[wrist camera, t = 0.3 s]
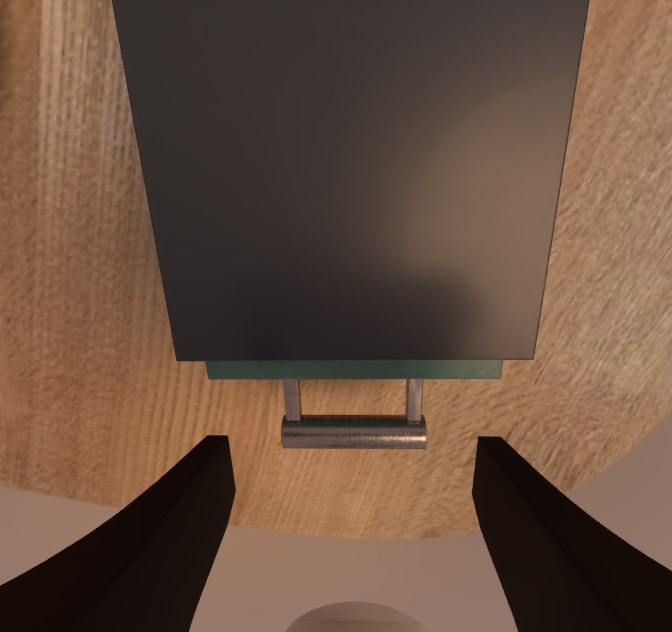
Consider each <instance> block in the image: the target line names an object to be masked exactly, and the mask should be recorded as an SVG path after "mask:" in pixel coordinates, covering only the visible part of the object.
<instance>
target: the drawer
mask: <svg viewBox="0 0 672 632" xmlns="http://www.w3.org/2000/svg"><path fill="white" fill-rule="evenodd" d="M502 365H503V360H342V361H206V367H207V374H208V379H283V384H284V396H285V409H286V415H284V416H283V419H282V426H281V442H282V447H283V448H313V449H425V448H426V444H427V428H426V421H425V417H424V415H421V413H422V395H423V379H499V378H501V373H502ZM300 379H407V381H406V408H405V414H406V415H302V407H301V391H300Z"/></svg>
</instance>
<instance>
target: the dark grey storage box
mask: <svg viewBox="0 0 672 632" xmlns="http://www.w3.org/2000/svg"><path fill="white" fill-rule="evenodd" d="M112 4H113V10H114V15H115V21H116V26H117V32H118V38H119V43H120V49H121V54H122V60H123V65H124V71H125V76H126V82H127V88H128V93H129V99H130V104H131V110H132V115H133V121H134V127H135V132H136V138H137V143H138V149H139V154H140V160H141V166H142V171H143V177H144V182H145V188H146V193H147V199H148V204H149V210H150V216H151V221H152V227H153V232H154V238H155V243H156V249H157V255H158V260H159V266H160V271H161V277H162V282H163V288H164V293H165V299H166V305H167V310H168V316H169V321H170V327H171V332H172V338H173V344H174V349H175V355H176V360H177V361H342V360H532V359H534V353H535V347H536V340H537V334H538V328H539V321H540V315H541V308H542V302H543V296H544V289H545V283H546V276H547V270H548V263H549V257H550V251H551V244H552V238H553V231H554V225H555V219H556V212H557V206H558V199H559V193H560V186H561V180H562V174H563V167H564V161H565V154H566V148H567V142H568V135H569V129H570V122H571V116H572V109H573V103H574V97H575V90H576V84H577V77H578V71H579V65H580V58H581V52H582V45H583V39H584V32H585V26H586V20H587V13H588V7H589V0H112Z"/></svg>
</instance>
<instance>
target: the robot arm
mask: <svg viewBox="0 0 672 632" xmlns="http://www.w3.org/2000/svg"><path fill="white" fill-rule="evenodd" d="M235 492H236V489H235V482H234V475H233V468H232V461H231V453H230V446H229V439H228V436H226V435H207V436H206V437H205V438H204V439H203V440H202V441H201V442H200V443H198V444H197V445H196V446H195V447H194V448H193V449H192V450H191V451H190V452H189V453H188V454H187V455H186V456H184V457H183V458H182V459H181V460H180V461H179V462H178V463H177V464H176V465H175V466H173V467H172V468H171V469H170V470H169V471H168V472H167V473H166V474H165V475H163V476H162V477H161V478H160V479H159V480H158V481H157V482H156V483H154V484H153V485H152V486H151V487H149V488H148V489H147V490H146V491H145V492H143V493H142V494H141V495H140V496H138V497H137V498H136V499H135V500H134V501H132V502H131V503H130V504H129V505H128V506H126V507H125V508H124V509H122V510H121V511H120V512H119V513H117V514H116V515H114V516H113V517H112V518H110V519H109V520H108V521H106V522H105V523H103V524H102V525H100V526H99V527H98V528H96V529H95V530H93V531H92V532H90V533H89V534H87V535H86V536H84V537H83V538H81V539H80V540H78V541H76V542H75V543H74V544H72V545H70V546H69V547H67V548H65V549H64V550H62V551H61V552H59V553H57V554H55V555H54V556H53V557H51V558H49V559H48V560H46V561H44V562H42V563H41V564H39V565H37V566H35V567H34V568H32V569H30V570H28V571H27V572H25V573H23V574H21V575H19V576H18V577H16V578H14V579H12V580H10V581H8V582H6V583H4V584H2V585H1V586H0V632H189V630H190V626H191V623H192V620H193V617H194V613H195V611H196V608H197V605H198V602H199V600H200V597H201V594H202V592H203V589H204V586H205V584H206V581H207V578H208V576H209V573H210V570H211V568H212V565H213V563H214V560H215V557H216V554H217V552H218V549H219V547H220V544H221V541H222V539H223V536H224V533H225V531H226V528H227V525H228V521H229V517H230V513H231V509H232V505H233V501H234V497H235ZM472 496H473V500H474V504H475V509H476V513H477V517H478V521H479V525H480V529H481V531H482V534H483V537H484V540H485V542H486V545H487V548H488V550H489V553H490V556H491V558H492V561H493V564H494V566H495V569H496V572H497V574H498V577H499V580H500V582H501V585H502V588H503V590H504V593H505V596H506V598H507V601H508V604H509V606H510V609H511V611H512V614H513V617H514V620H515V623H516V626H517V629H518V632H672V571H671V570H669V569H668V568H666V567H664V566H663V565H661V564H659V563H658V562H656V561H655V560H653V559H651V558H650V557H648V556H647V555H645V554H644V553H642V552H641V551H639V550H638V549H636V548H634V547H633V546H631V545H630V544H629V543H627V542H626V541H624V540H623V539H621V538H620V537H618V536H617V535H616V534H614V533H613V532H611V531H610V530H609V529H607V528H606V527H604V526H603V525H602V524H600V523H599V522H598V521H596V520H595V519H594V518H592V517H591V516H590V515H588V514H587V513H586V512H585V511H583V510H582V509H581V508H580V507H578V506H577V505H576V504H575V503H573V502H572V501H571V500H570V499H569V498H567V497H566V496H565V495H564V494H563V493H562V492H560V491H559V490H558V489H557V488H556V487H555V486H553V485H552V484H551V483H550V482H549V481H548V480H547V479H545V478H544V477H543V476H542V475H541V474H540V473H539V472H538V471H537V470H536V469H534V468H533V467H532V466H531V465H530V464H529V463H528V462H527V461H526V460H525V459H524V458H523V457H522V456H521V455H519V454H518V453H517V452H516V451H515V450H514V449H513V448H512V447H511V446H510V445H509V444H508V443H507V442H506V441H505V440H504V439H502V438H501V437H490V436H478V443H477V452H476V461H475V470H474V479H473V488H472Z"/></svg>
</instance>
